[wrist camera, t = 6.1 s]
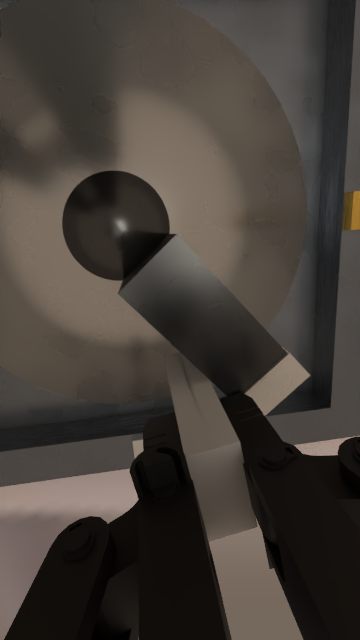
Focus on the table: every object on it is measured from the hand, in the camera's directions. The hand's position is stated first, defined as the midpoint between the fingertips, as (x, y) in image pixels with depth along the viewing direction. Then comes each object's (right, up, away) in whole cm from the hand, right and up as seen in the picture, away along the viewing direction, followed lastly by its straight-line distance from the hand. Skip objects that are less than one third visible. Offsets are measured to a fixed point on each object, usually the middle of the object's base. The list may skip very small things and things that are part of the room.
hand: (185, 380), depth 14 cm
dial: (-3, +7, +1) cm, 8 cm away
